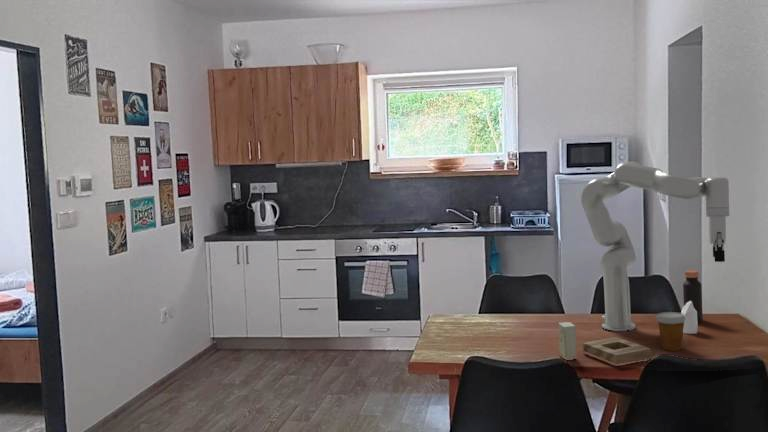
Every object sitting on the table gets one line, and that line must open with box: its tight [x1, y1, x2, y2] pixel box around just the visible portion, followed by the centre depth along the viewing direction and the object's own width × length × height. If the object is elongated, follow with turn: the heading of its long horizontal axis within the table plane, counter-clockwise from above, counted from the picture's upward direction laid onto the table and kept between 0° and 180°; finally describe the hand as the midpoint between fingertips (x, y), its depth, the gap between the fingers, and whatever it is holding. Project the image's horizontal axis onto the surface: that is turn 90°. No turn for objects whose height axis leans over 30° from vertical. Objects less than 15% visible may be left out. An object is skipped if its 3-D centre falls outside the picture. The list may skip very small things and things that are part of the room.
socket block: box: [582, 336, 652, 364], centre depth 248 cm, size 18×14×4 cm
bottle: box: [682, 269, 704, 323], centre depth 287 cm, size 7×7×20 cm
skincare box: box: [557, 321, 577, 357], centre depth 250 cm, size 6×4×12 cm
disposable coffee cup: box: [656, 311, 685, 352], centre depth 253 cm, size 10×10×12 cm
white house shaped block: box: [680, 301, 699, 335], centre depth 272 cm, size 6×12×6 cm
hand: (718, 259), depth 259 cm, fingers open, 9 cm apart
